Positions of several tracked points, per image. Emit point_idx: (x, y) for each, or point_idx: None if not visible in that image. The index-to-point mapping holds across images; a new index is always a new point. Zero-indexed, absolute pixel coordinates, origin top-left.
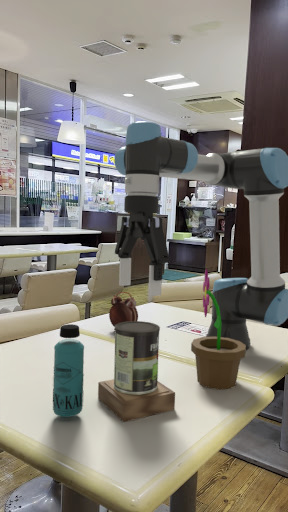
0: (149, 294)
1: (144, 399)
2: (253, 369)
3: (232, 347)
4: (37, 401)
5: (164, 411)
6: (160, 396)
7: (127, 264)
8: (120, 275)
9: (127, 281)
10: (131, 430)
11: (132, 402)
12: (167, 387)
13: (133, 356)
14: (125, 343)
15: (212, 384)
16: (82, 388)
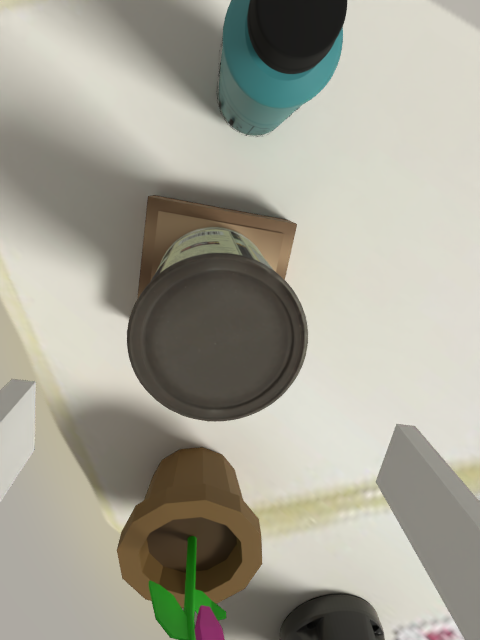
0: (20, 384)
1: (142, 255)
2: None
3: (183, 578)
4: (372, 81)
5: None
6: None
7: (463, 589)
8: (436, 469)
9: (393, 482)
10: (113, 186)
11: (145, 221)
12: None
13: (164, 262)
14: (186, 254)
15: (173, 458)
16: (229, 112)
